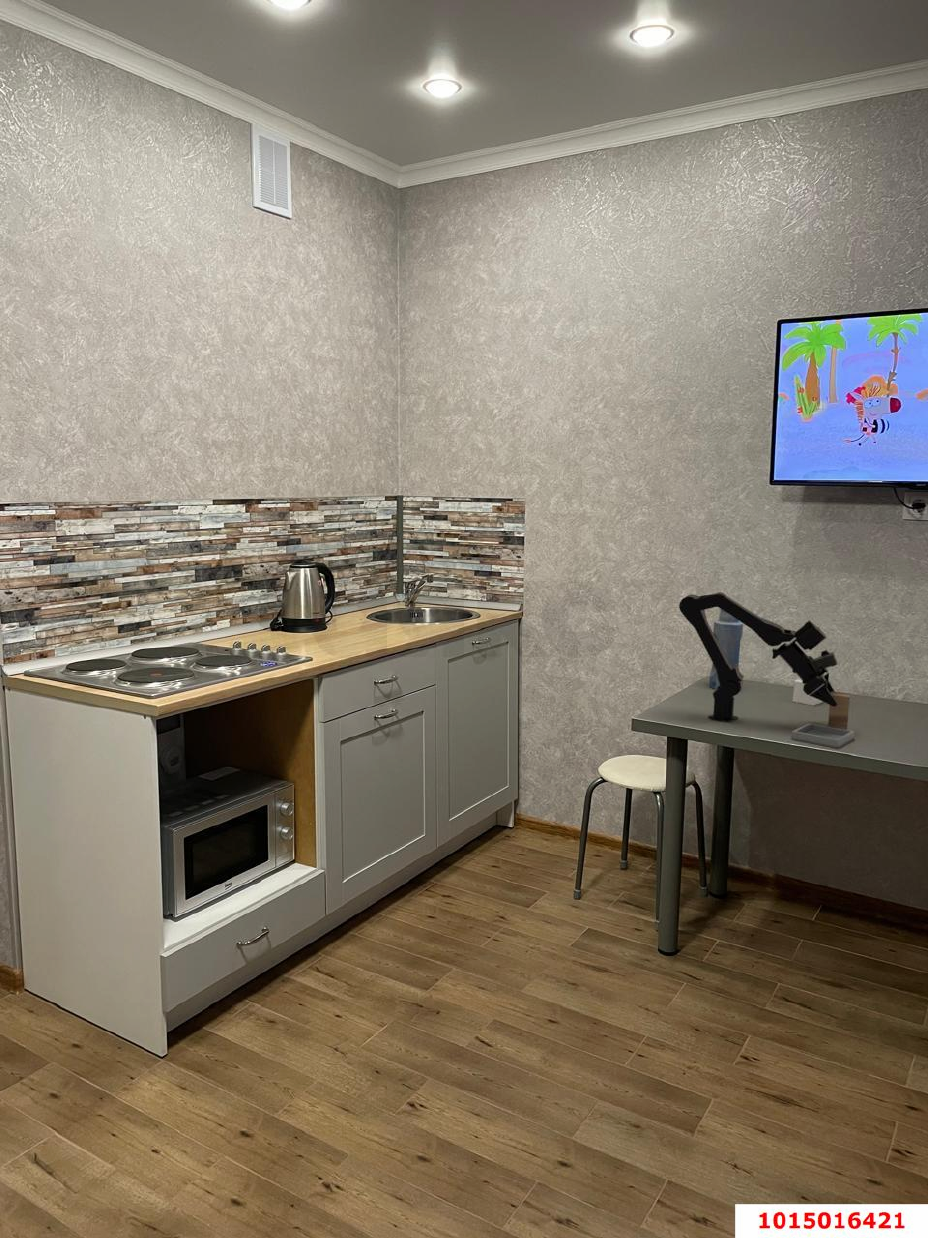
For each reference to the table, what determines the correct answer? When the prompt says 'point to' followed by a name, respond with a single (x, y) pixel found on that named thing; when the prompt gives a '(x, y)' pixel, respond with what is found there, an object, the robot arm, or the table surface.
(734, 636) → the bottle
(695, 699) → the table surface
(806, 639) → the robot arm
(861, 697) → the table surface
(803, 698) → the medicine bottle
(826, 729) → the tray
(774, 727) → the table surface
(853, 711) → the table surface
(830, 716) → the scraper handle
